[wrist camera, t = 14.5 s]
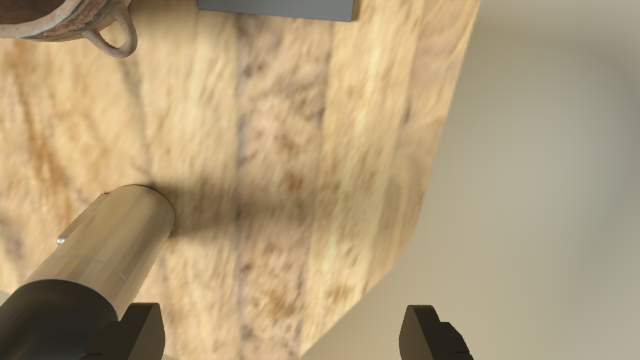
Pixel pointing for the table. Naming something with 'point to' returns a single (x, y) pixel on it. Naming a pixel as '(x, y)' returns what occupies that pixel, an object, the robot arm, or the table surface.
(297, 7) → the slate mat
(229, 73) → the table surface
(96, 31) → the cooking pot
